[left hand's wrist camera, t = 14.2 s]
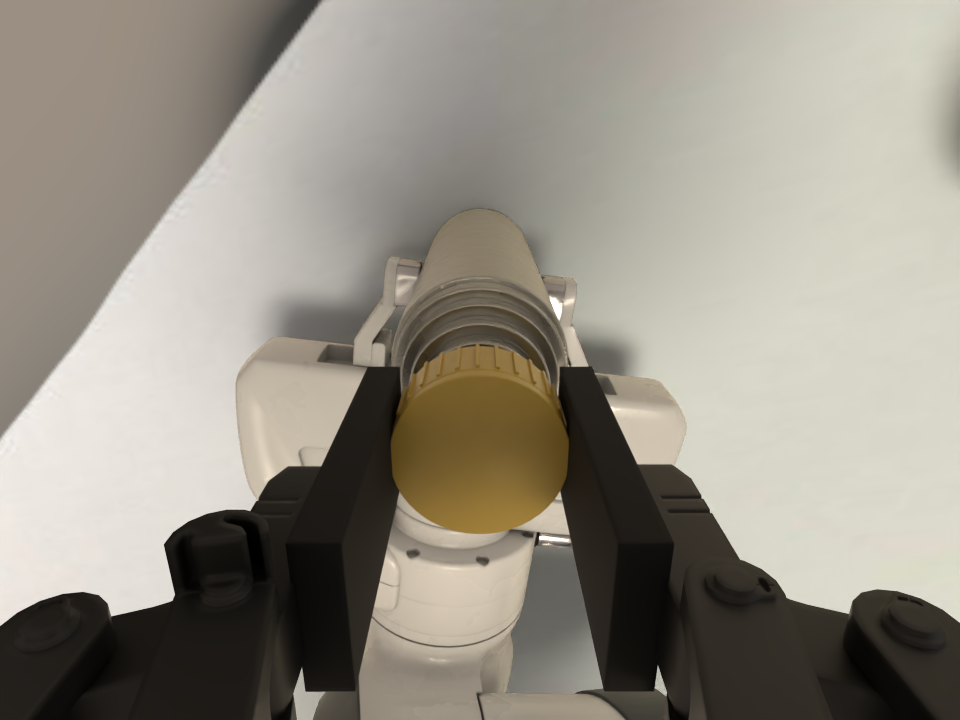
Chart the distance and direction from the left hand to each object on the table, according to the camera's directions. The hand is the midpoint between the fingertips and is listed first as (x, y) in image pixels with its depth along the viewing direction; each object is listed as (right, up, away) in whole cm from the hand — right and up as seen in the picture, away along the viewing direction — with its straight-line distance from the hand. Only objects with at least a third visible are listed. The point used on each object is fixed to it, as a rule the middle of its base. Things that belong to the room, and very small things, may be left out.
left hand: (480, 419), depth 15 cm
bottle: (0, +7, +18) cm, 19 cm away
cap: (0, -1, -2) cm, 2 cm away
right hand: (0, +5, +11) cm, 13 cm away
